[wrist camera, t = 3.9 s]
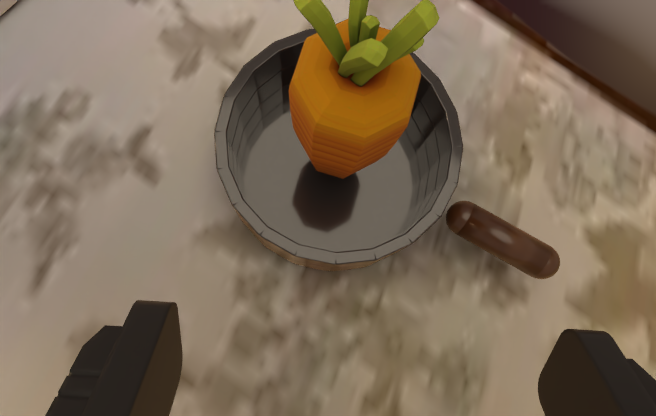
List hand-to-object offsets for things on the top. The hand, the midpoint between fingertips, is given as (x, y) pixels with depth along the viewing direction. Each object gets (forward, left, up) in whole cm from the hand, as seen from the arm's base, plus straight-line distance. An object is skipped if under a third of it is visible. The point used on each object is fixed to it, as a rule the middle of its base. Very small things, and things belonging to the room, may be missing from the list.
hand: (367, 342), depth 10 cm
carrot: (-4, +8, -16) cm, 19 cm away
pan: (-4, +8, -17) cm, 19 cm away
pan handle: (+6, +8, -14) cm, 17 cm away
